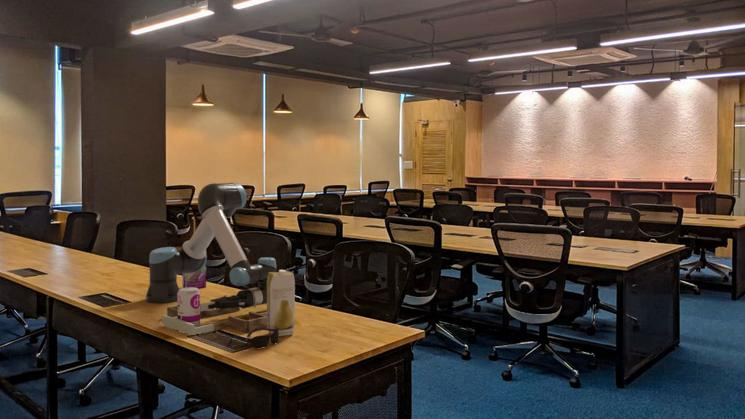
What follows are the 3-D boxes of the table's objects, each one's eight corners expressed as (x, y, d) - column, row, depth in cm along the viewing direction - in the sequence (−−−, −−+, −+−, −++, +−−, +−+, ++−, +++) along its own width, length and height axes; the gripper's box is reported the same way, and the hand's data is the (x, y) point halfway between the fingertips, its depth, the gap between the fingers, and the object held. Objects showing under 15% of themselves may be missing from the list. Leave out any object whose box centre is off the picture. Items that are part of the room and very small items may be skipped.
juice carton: (271, 338, 217) (272, 272, 216) (265, 332, 224) (265, 268, 223) (296, 335, 222) (296, 270, 220) (289, 329, 229) (289, 267, 227)
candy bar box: (183, 289, 300) (183, 256, 298) (182, 287, 304) (181, 255, 303) (206, 287, 304) (206, 255, 303) (204, 285, 309) (204, 254, 308)
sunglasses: (256, 352, 202) (256, 337, 202) (223, 344, 211) (223, 330, 210) (284, 342, 213) (284, 328, 213) (251, 335, 222) (251, 322, 222)
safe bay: (183, 321, 239) (183, 311, 239) (213, 331, 226) (213, 320, 225) (162, 325, 232) (162, 315, 232) (192, 336, 219) (192, 325, 218)
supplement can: (204, 326, 232) (204, 288, 230) (189, 331, 224) (189, 291, 223) (188, 324, 235) (188, 285, 234) (173, 329, 228) (172, 289, 227)
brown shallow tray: (223, 306, 265) (223, 297, 265) (285, 322, 239) (285, 312, 238) (167, 317, 245) (167, 307, 245) (227, 337, 218) (227, 326, 218)
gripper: (259, 309, 246) (209, 320, 228) (239, 304, 254) (189, 314, 237) (259, 291, 245) (209, 300, 228) (239, 286, 254) (189, 295, 236)
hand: (199, 307), depth 232 cm, fingers closed
